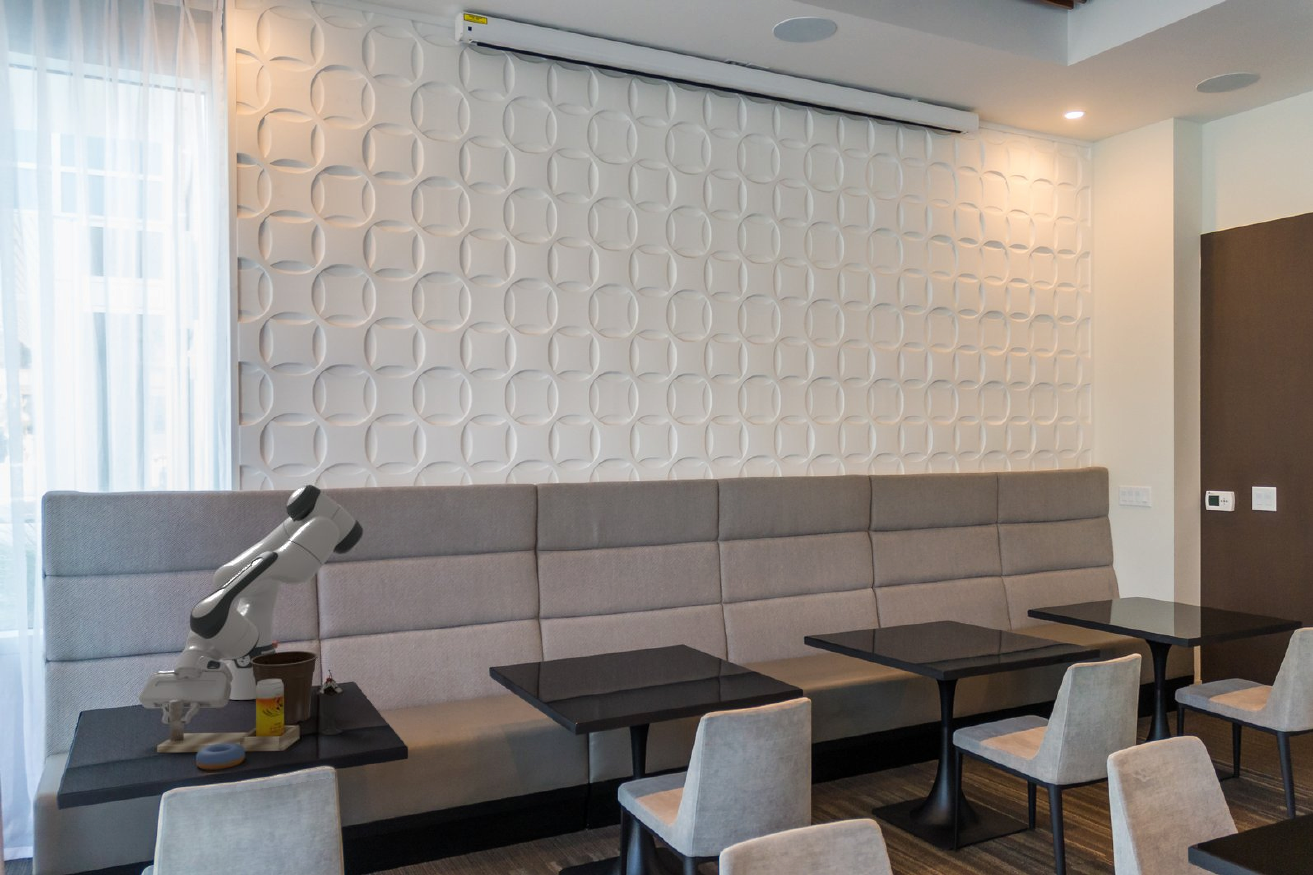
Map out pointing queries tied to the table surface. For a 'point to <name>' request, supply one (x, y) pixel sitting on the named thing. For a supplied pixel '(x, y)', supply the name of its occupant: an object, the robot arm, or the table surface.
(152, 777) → the table surface
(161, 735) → the table surface
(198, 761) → the doughnut
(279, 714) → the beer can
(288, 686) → the plant pot
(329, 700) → the sundae
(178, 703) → the wooden peg stand
